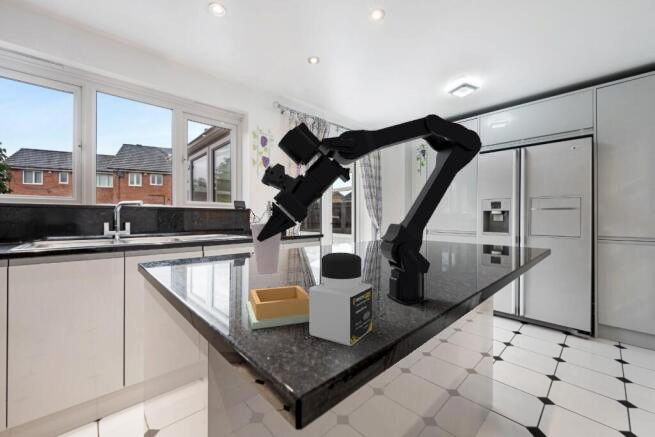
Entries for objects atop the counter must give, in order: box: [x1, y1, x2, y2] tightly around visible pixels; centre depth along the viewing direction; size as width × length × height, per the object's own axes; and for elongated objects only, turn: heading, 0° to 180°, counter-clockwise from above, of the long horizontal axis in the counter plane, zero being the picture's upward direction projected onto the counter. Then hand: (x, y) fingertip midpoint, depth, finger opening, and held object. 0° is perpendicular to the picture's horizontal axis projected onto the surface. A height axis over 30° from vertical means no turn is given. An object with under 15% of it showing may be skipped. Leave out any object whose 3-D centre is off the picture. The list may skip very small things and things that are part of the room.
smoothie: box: [249, 200, 282, 275], centre depth 56 cm, size 6×6×14 cm
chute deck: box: [245, 285, 309, 330], centre depth 53 cm, size 20×12×4 cm, turn 111°
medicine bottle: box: [308, 251, 373, 347], centre depth 43 cm, size 7×7×12 cm
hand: (259, 239), depth 56 cm, fingers closed on smoothie, 6 cm apart
